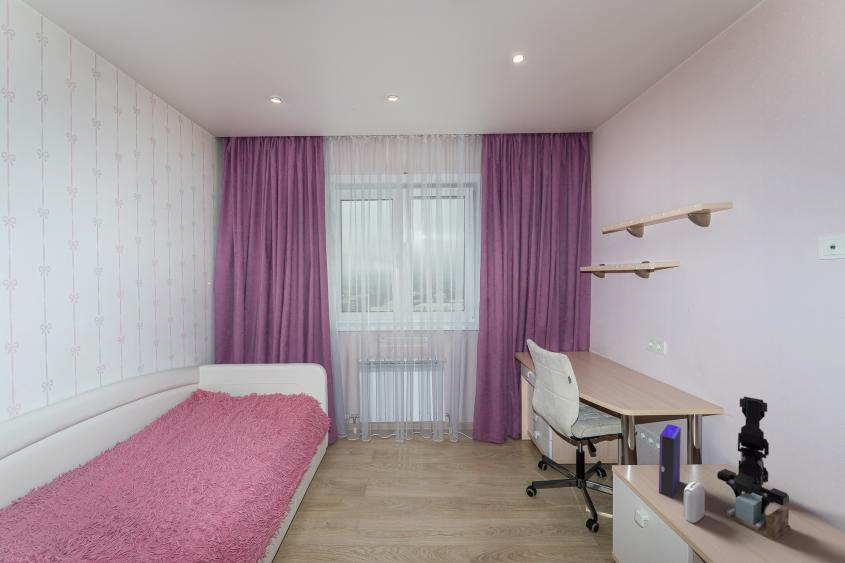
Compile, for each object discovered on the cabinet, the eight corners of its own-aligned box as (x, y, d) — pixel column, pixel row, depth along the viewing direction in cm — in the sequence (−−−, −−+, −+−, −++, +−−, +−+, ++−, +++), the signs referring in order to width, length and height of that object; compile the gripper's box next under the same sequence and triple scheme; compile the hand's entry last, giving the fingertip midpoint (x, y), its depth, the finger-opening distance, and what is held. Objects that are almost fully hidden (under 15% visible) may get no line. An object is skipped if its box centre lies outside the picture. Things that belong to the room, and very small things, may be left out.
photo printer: (692, 509, 134) (693, 477, 134) (706, 515, 130) (706, 482, 130) (681, 518, 128) (682, 485, 128) (695, 525, 124) (696, 490, 125)
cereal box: (666, 477, 156) (667, 423, 156) (679, 481, 153) (680, 427, 153) (658, 493, 144) (659, 435, 144) (672, 498, 140) (673, 438, 141)
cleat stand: (740, 505, 136) (740, 488, 137) (790, 528, 124) (790, 508, 124) (723, 515, 130) (723, 497, 130) (773, 540, 118) (774, 520, 118)
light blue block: (748, 509, 133) (748, 490, 133) (765, 516, 129) (765, 498, 129) (735, 516, 128) (735, 497, 128) (753, 525, 124) (753, 505, 124)
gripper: (710, 459, 133) (709, 500, 133) (776, 485, 117) (776, 531, 116) (724, 453, 138) (723, 492, 138) (790, 477, 122) (789, 521, 122)
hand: (750, 508), depth 128 cm, fingers open, 6 cm apart
